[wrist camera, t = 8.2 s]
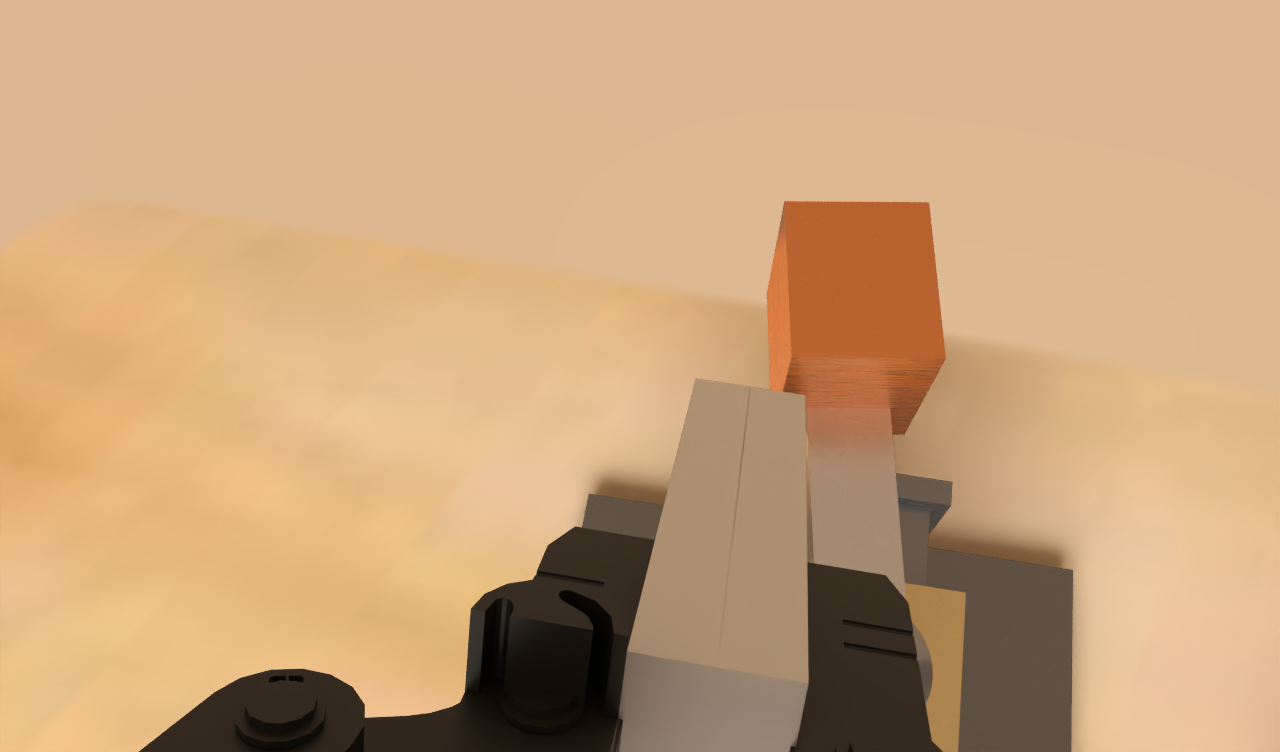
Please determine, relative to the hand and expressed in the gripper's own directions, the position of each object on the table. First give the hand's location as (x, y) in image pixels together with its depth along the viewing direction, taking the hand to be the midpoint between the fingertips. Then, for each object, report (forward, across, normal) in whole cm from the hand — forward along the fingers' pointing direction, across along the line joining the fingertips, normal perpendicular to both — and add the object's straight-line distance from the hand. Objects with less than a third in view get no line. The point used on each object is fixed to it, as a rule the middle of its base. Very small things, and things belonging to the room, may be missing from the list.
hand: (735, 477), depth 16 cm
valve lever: (+9, +3, -4) cm, 10 cm away
